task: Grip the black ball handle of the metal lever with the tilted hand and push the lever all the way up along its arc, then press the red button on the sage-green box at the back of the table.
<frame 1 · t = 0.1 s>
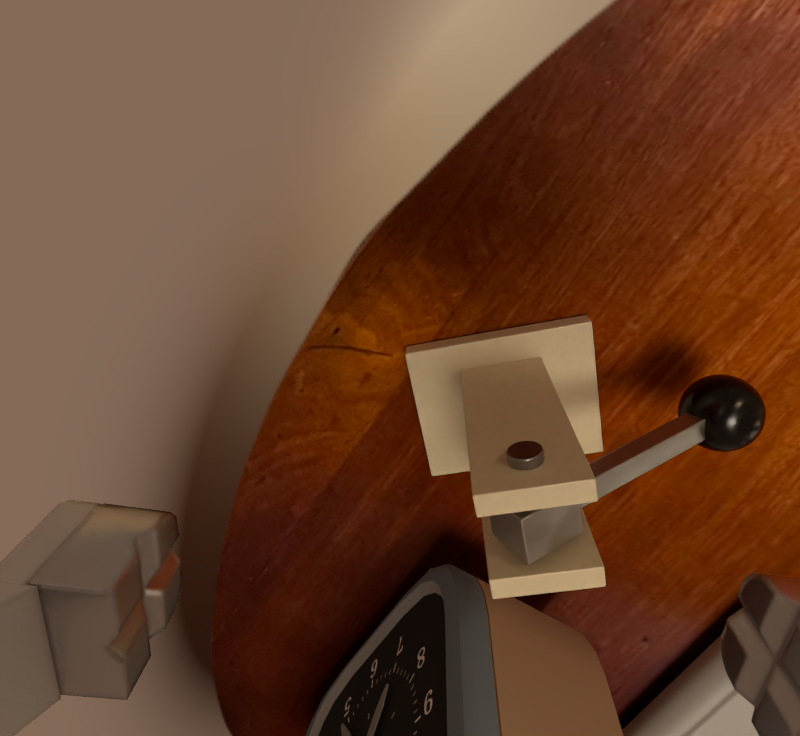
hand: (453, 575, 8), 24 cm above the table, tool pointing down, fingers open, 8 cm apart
alarm clock: (431, 640, 42), on the table
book: (740, 735, 43), on the table
bracket: (504, 394, 33), on the table
lever: (637, 457, 25), point 8 cm above the table, hinge at -30.0°
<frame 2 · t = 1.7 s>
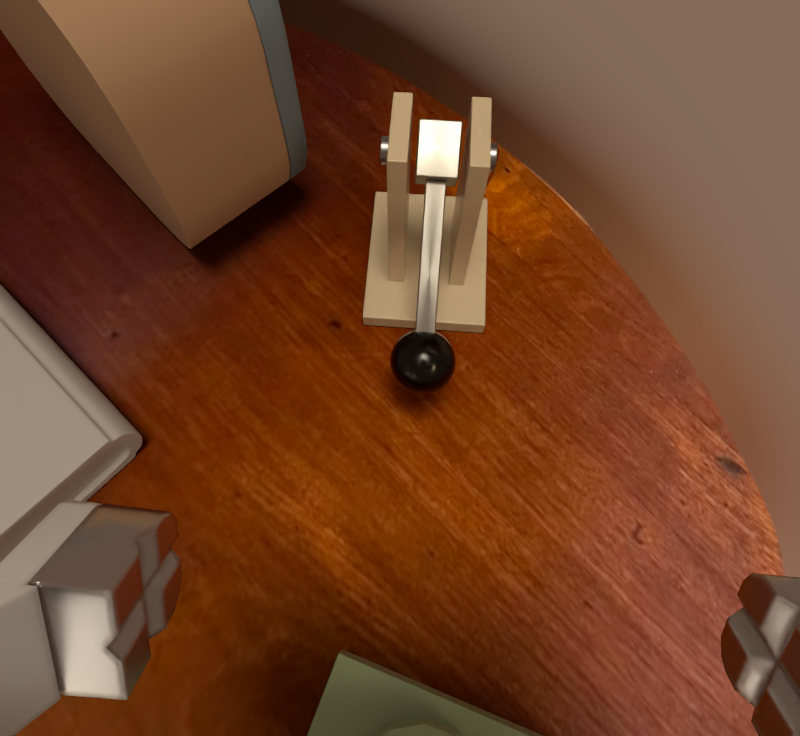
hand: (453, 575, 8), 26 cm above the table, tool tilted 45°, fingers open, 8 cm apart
alarm clock: (187, 160, 44), on the table
bracket: (426, 264, 41), on the table
lever: (429, 264, 31), point 8 cm above the table, hinge at -30.0°
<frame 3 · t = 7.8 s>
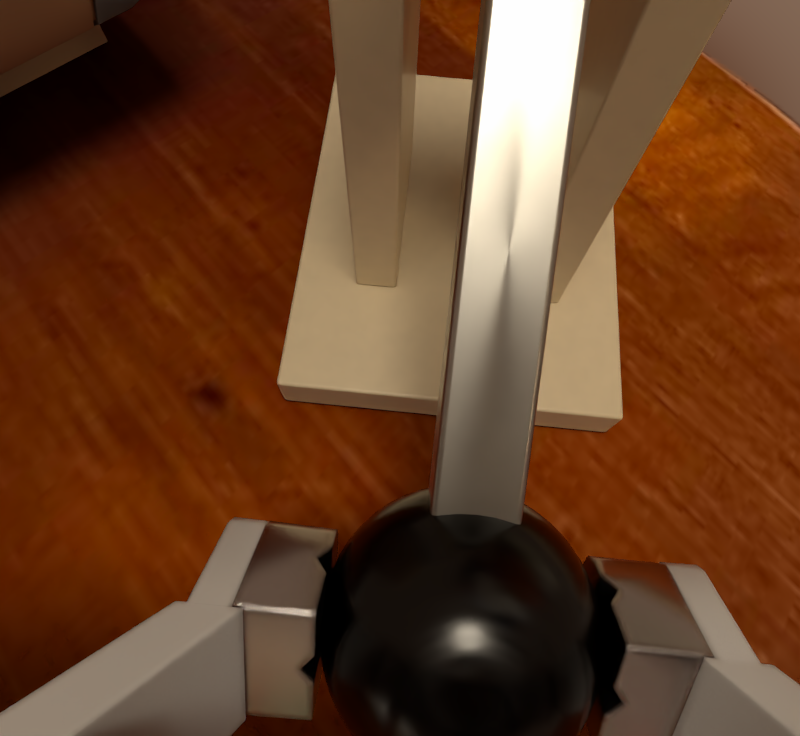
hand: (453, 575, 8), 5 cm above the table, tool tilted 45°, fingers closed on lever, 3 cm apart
bracket: (456, 246, 16), on the table
lever: (507, 209, 7), point 8 cm above the table, hinge at -29.9°, touching gripper
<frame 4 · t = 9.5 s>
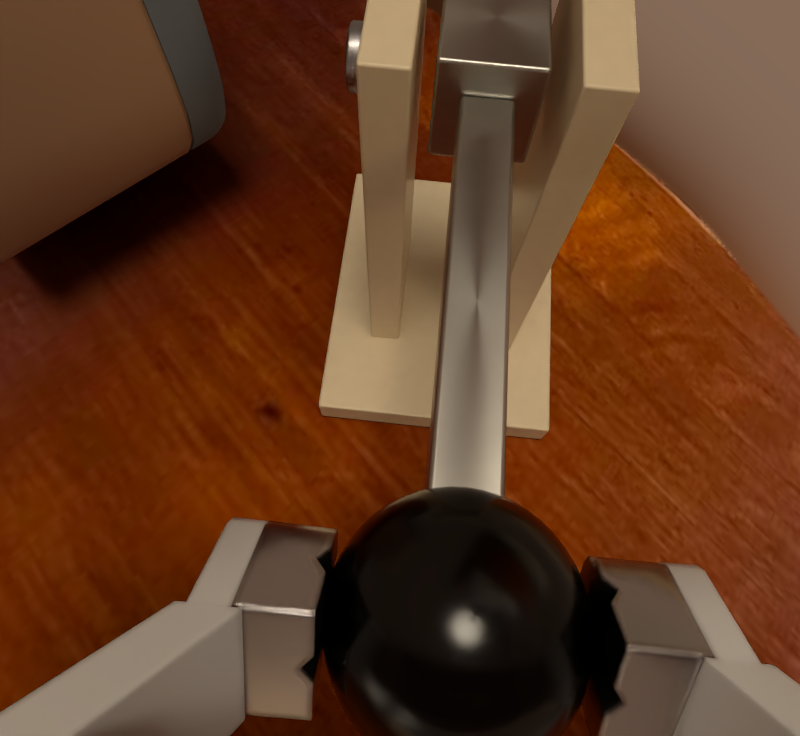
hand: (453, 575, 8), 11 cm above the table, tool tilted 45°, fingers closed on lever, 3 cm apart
alarm clock: (45, 111, 26), on the table
bracket: (441, 305, 23), on the table
lever: (474, 292, 10), point 11 cm above the table, hinge at 4.0°, touching gripper
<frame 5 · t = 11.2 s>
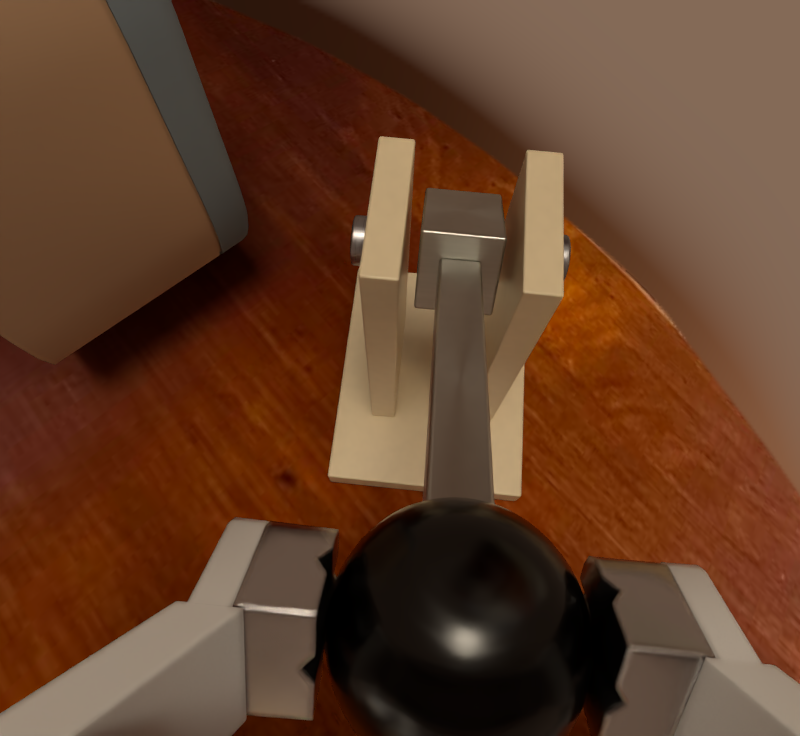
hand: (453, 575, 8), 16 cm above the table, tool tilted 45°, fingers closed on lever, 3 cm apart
alarm clock: (88, 208, 30), on the table
bracket: (432, 382, 27), on the table
lever: (457, 380, 12), point 14 cm above the table, hinge at 28.9°, touching gripper
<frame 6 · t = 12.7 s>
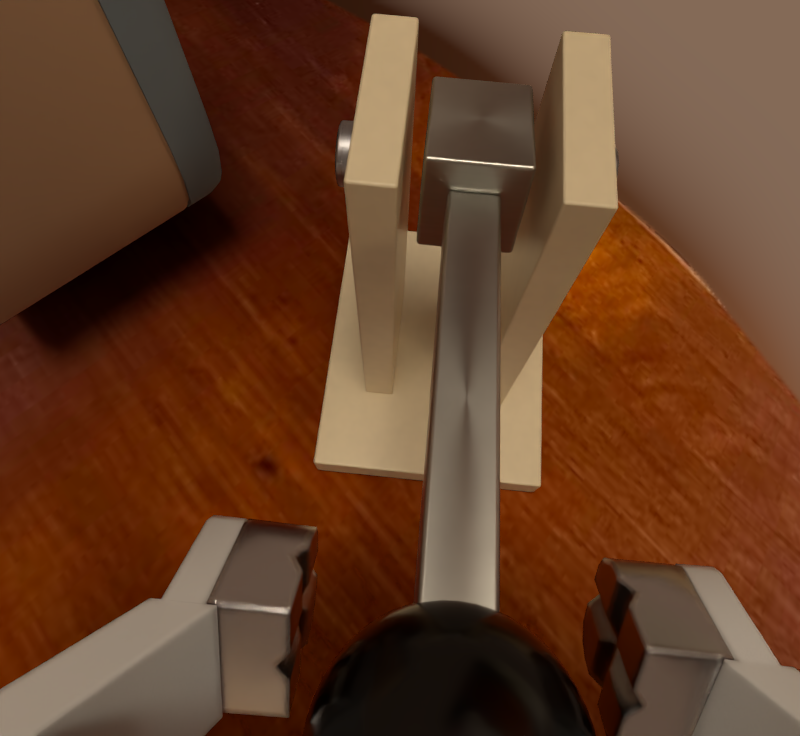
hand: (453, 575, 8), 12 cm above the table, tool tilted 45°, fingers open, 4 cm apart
alarm clock: (45, 161, 27), on the table
bracket: (435, 356, 23), on the table
lever: (463, 385, 10), point 12 cm above the table, hinge at 10.5°
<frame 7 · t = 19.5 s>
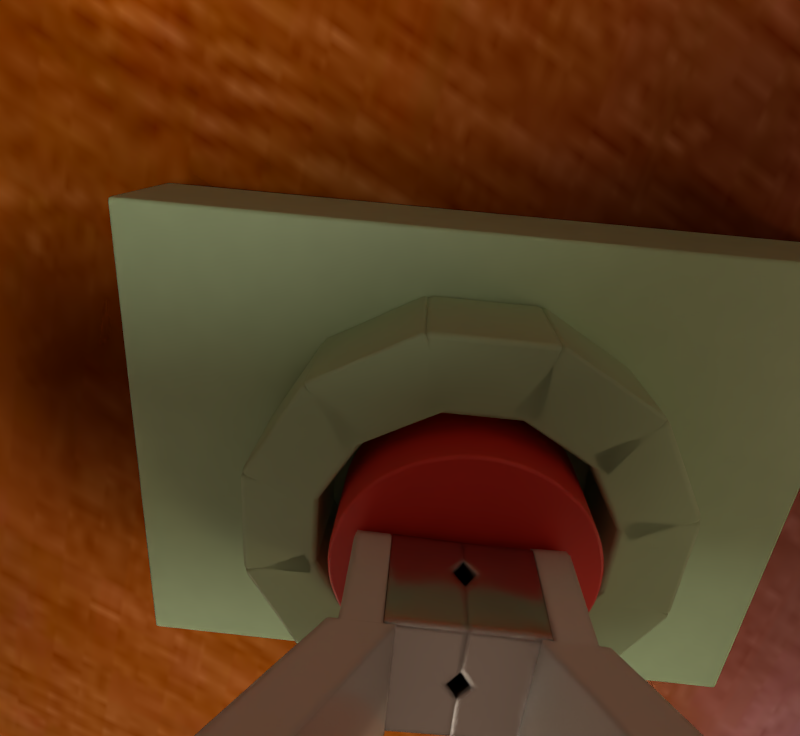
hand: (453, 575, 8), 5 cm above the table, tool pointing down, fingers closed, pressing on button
button: (461, 535, 9), point 4 cm above the table, slide at -0.7 cm, touching gripper
button box: (454, 423, 13), on the table
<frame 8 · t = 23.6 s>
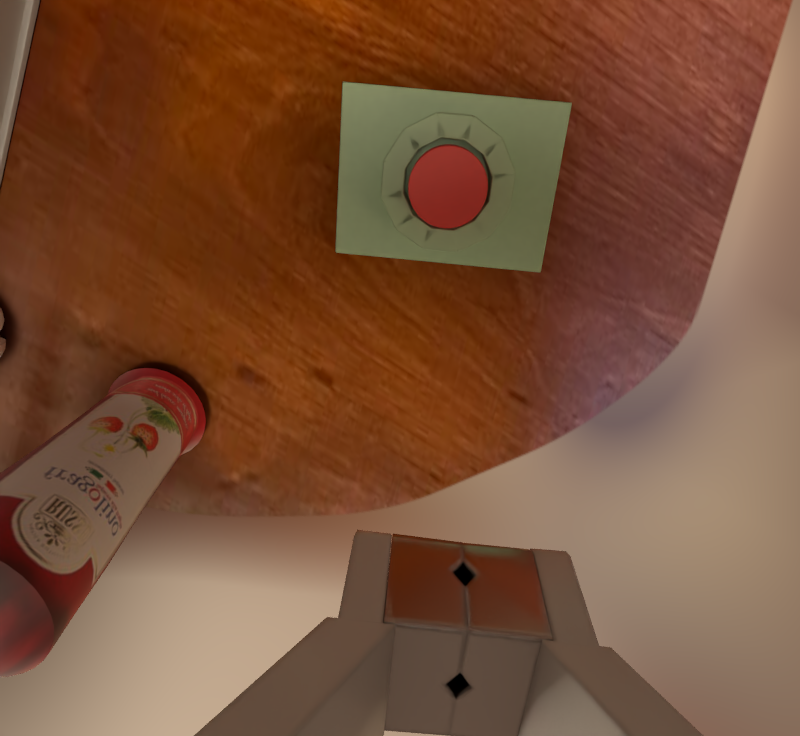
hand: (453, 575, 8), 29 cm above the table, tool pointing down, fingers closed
button: (447, 186, 30), point 4 cm above the table, slide at 0.1 cm
button box: (446, 178, 34), on the table
liquor: (165, 404, 41), on the table
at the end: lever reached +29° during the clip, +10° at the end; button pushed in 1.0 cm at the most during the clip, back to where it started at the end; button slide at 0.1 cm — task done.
